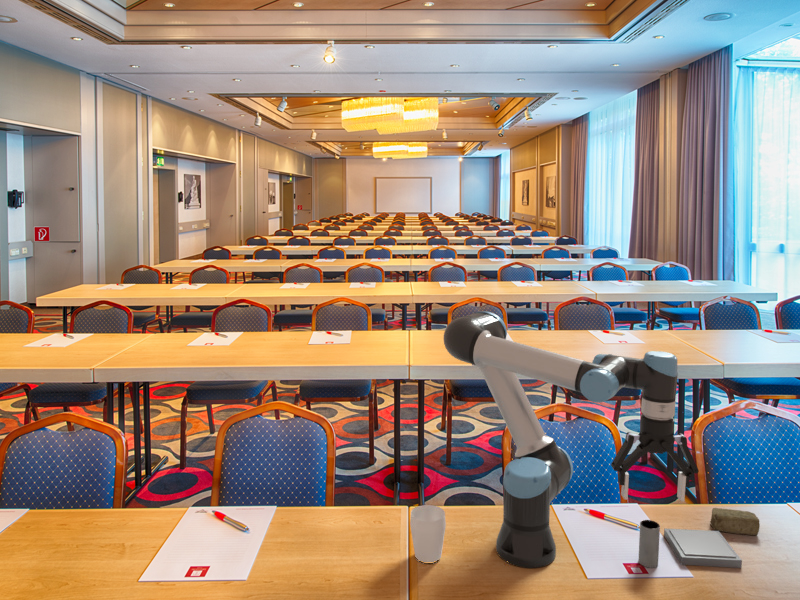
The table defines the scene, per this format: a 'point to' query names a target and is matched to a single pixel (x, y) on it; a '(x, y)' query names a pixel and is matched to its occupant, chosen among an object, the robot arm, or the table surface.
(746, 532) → the stone block
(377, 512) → the table surface
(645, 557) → the grey tube
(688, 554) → the kitchen scale
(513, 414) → the robot arm
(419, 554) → the cup
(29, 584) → the table surface
